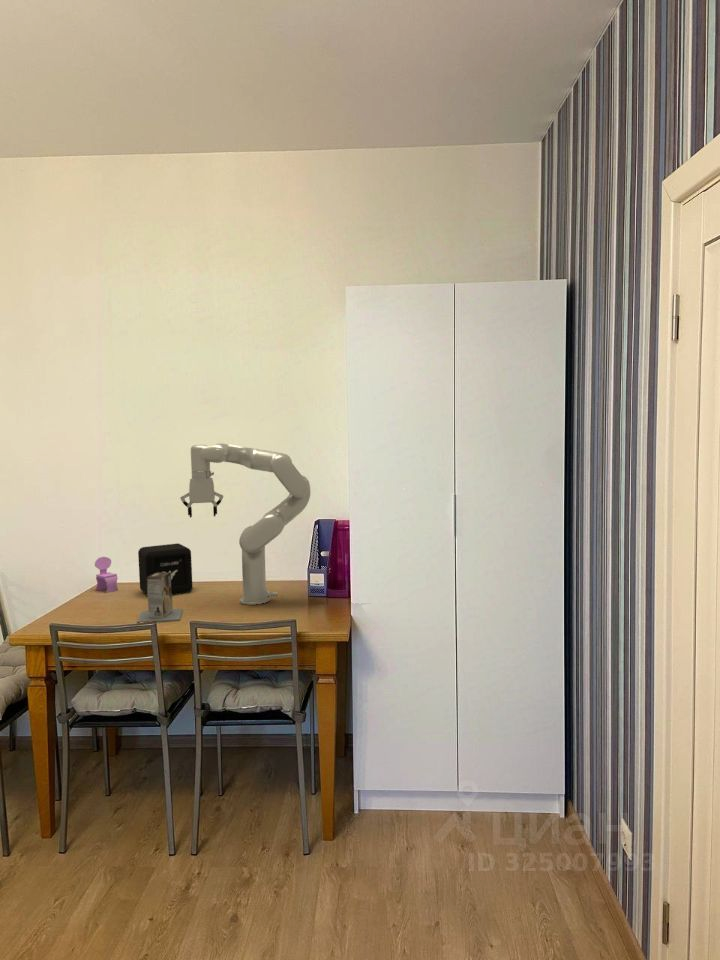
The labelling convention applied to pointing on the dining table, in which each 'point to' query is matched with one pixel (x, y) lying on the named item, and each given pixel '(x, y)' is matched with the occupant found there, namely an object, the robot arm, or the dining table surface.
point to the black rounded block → (166, 565)
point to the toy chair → (105, 575)
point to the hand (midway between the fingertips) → (202, 516)
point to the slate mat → (171, 617)
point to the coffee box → (159, 594)
